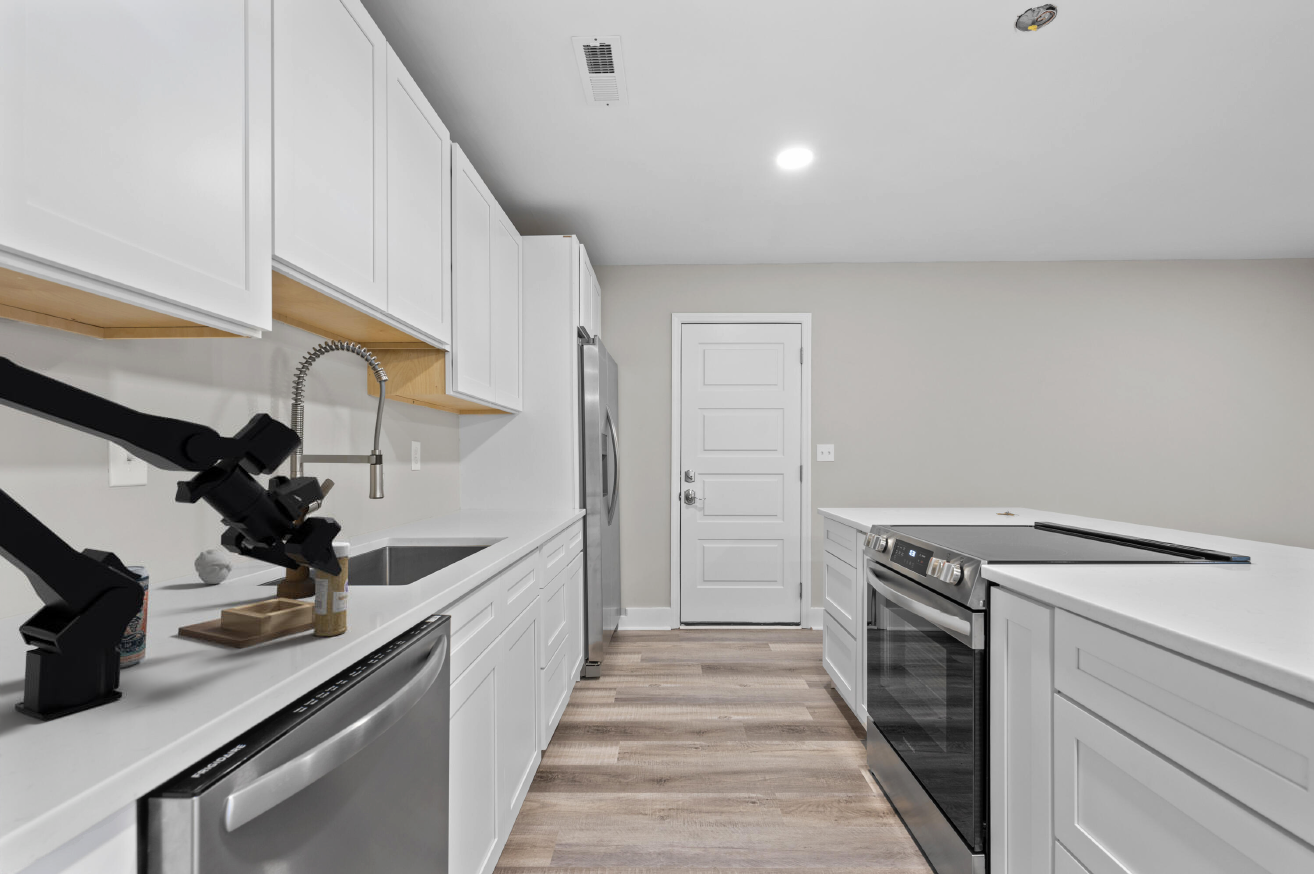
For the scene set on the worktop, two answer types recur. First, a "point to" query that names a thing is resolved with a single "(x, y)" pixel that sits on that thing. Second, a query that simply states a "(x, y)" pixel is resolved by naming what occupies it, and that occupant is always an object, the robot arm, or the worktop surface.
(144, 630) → the beer can
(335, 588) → the spice jar
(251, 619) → the socket
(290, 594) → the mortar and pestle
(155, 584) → the worktop surface
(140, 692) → the worktop surface
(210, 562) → the white lumpy ball
